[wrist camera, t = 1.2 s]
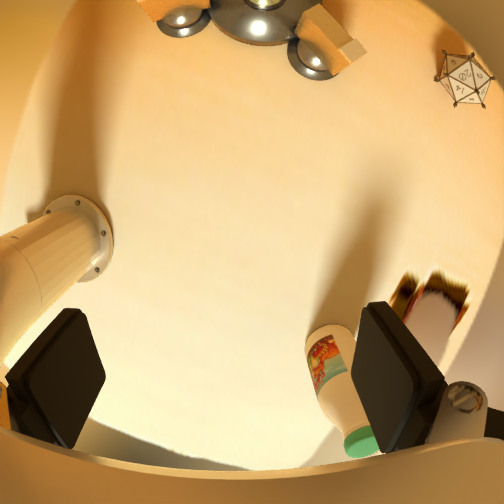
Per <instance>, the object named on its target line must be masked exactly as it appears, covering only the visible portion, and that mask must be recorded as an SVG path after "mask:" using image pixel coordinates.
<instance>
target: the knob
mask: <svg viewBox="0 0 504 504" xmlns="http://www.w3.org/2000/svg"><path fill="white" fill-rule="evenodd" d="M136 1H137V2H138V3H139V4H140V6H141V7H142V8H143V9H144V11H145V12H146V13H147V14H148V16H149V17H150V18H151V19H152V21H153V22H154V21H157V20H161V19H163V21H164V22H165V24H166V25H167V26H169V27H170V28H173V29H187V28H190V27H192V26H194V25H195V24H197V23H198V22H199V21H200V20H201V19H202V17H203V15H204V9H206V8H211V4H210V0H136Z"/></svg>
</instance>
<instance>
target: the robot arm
mask: <svg viewBox="0 0 504 504" xmlns="http://www.w3.org/2000/svg"><path fill="white" fill-rule="evenodd" d="M105 231H106V233H105ZM112 251H113V237H112V233H111V228H110V226H109V223H108V221H107V219H106V217H105V216H104V214H103V212H102V211H101V210H100V209H99V208H98V206H97V205H95V204H94V203H93V202H92V201H91V200H89V199H87V198H85V197H83V196H79V195H65V196H61V197H59V198H57V199H55V200H53V201H52V202H51V203H50V204H49V205H48V206H47V207H46V209H45V210H44V212H43V214H42V217H40V218H38V219H36V220H34V221H32V222H30V223H27V224H25V225H23V226H21V227H19V228H17V229H15V230H13V231H11V232H9V233H7V234H5V235H3V236H1V237H0V367H1V365H2V363H3V362H4V360H5V358H6V357H7V355H8V353H9V352H10V350H11V349H12V348H13V346H14V345H15V344H16V343H17V341H18V340H19V339H20V338H21V337H22V335H23V334H24V333H25V332H26V331H27V330H28V329H29V328H30V327H31V326H32V325H33V324H34V323H35V322H36V321H37V320H38V319H39V318H40V317H41V316H42V315H43V314H44V313H45V312H46V311H47V310H48V309H49V308H50V307H51V306H52V305H53V304H54V303H55V302H56V301H57V300H58V299H59V298H60V297H61V296H62V295H63V294H64V293H65V292H66V291H67V290H68V289H69V288H70V287H71V286H72V285H73V284H75V283H76V282H88V281H92V280H93V279H95V278H97V277H98V276H99V275H100V274H102V273H103V271H104V270H105V269H106V268H107V266H108V264H109V262H110V260H111V256H112ZM5 378H6V380H7V382H8V384H9V385H8V387H7V388H6V386H5V385H4V384H3V383H2V382H0V504H504V412H503V411H500V410H496V409H492V408H490V407H488V400H487V397H486V394H485V393H484V391H483V390H482V389H481V388H480V387H478V386H477V385H475V384H473V383H470V382H464V381H459V382H454V383H451V384H450V385H448V384H447V383H446V381H445V380H444V379H445V377H444V376H443V375H442V373H441V372H440V370H439V369H438V368H437V366H436V365H435V364H434V362H433V361H432V360H431V358H430V357H429V356H428V355H427V353H426V352H425V350H424V349H423V348H422V346H421V345H420V344H419V342H418V341H417V340H416V339H415V337H414V336H413V335H412V333H411V332H410V331H409V330H408V328H407V327H406V326H405V324H404V323H403V322H402V321H401V319H400V318H399V317H398V316H397V314H396V313H395V312H394V311H393V310H392V308H391V307H390V306H389V305H388V303H387V302H385V301H381V302H370V303H368V305H367V307H364V308H363V309H362V313H361V319H360V325H359V331H358V337H357V342H356V347H355V352H354V357H353V362H352V367H351V378H352V381H353V384H354V386H355V389H356V391H357V393H358V396H359V398H360V401H361V403H362V406H363V408H364V411H365V413H366V416H367V418H368V421H369V423H370V426H371V429H372V431H373V434H374V436H375V439H376V442H377V444H378V447H379V449H380V451H381V452H382V453H386V454H382V455H378V456H373V457H368V458H363V459H358V460H352V461H346V462H340V463H334V464H328V465H320V466H313V467H304V468H294V469H282V470H265V471H205V470H188V469H175V468H166V467H157V466H150V465H143V464H136V463H130V462H124V461H119V460H114V459H109V458H103V457H99V456H95V455H90V454H86V453H82V452H78V451H74V450H71V449H72V448H73V447H74V446H75V443H76V441H77V439H78V436H79V434H80V432H81V430H82V428H83V426H84V424H85V421H86V419H87V417H88V415H89V413H90V411H91V409H92V407H93V405H94V402H95V400H96V398H97V396H98V394H99V392H100V390H101V388H102V386H103V384H104V382H105V378H106V375H105V370H104V368H103V365H102V362H101V360H100V357H99V354H98V351H97V348H96V345H95V343H94V340H93V336H92V333H91V330H90V327H89V324H88V321H87V317H86V315H85V314H84V313H82V311H81V310H80V309H76V308H65V309H63V310H62V311H61V312H60V313H59V314H58V316H57V317H56V318H55V319H54V320H53V321H52V322H51V323H50V324H49V325H48V326H47V328H46V329H45V330H44V331H43V332H42V333H41V334H40V335H39V336H38V338H37V339H36V340H35V341H34V342H33V343H32V344H31V346H30V347H29V348H28V349H27V350H26V351H25V353H24V354H23V355H22V356H21V357H20V359H19V360H18V361H17V362H16V363H15V365H14V366H13V367H12V368H11V370H10V371H9V372H8V373H7V375H6V376H5Z"/></svg>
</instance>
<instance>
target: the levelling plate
mask: <svg viewBox="0 0 504 504" xmlns="http://www.w3.org/2000/svg"><path fill="white" fill-rule="evenodd" d="M210 4H211V8H206V9H204V15H203V17H202V19H201V20H200V21H199V22H198V23H197V24H195V25H194V26H192V27H190V28H187V29H173V28H170V27H169V26H167V25H166V24H165V22H164V21H163V19H161V20H157V21H156V22H157V25H158V27H159V29H160V30H161V31H162V32H163V33H164V34H166V35H168V36H171V37H176V38H182V37H188V36H192V35H194V34H196V33H198V32H200V31H201V30H203V29H204V28H205V27H206V26H207V25H208V23H209V22H210V20H211V19H212V21H213V22H214V24H215V25H216V26H217V27H218V28H219V30H221V31H222V32H223V33H224V34H226V35H227V36H229V37H231V38H233V39H235V40H237V41H240V42H242V43H246V44H250V45H256V46H275V45H282V44H285V43H289V44H288V48H287V55H288V59H289V62H290V64H291V65H292V67H293V68H294V69H295V70H296V71H297V72H298V73H299V74H301V75H302V76H304V77H306V78H308V79H312V80H318V81H322V80H328V79H331V78H333V77H335V76H336V75H337V74H338V73H337V74H336V75H334V76H333V75H332V74H331V73H330V72H329V70H328V71H325V72H315V71H311V70H309V69H307V68H306V67H304V66H303V65H302V64H301V63H300V61H299V60H298V58H297V55H296V47H297V44H298V43H299V41H300V38H299V37H298V36H297V35H296V34H295V33H294V31H295V29H296V27H297V24H298V22H299V20H300V18H301V16H302V14H303V12H304V11H306V10H308V9H310V8H312V7H313V6H315V5H317V4H320V5H321V6H322V0H210Z"/></svg>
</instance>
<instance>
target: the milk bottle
mask: <svg viewBox="0 0 504 504" xmlns="http://www.w3.org/2000/svg"><path fill="white" fill-rule="evenodd" d="M355 347H356V341H355V339H354V337H353V335H352V334H351V332H350V331H349V330H348V329H347V328H345V327H343V326H341V325H332V324H331V325H326V326H323V327H321V328H319V329H317V330H316V331H314V332H313V333H312V334H311V335H310V336H309V338H308V340H307V342H306V344H305V355H306V359H307V363H308V367H309V370H310V374H311V378H312V381H313V385H314V389H315V392H316V396H317V399H318V402H319V405H320V407H321V409H322V411H323V413H324V415H325V416H326V417H327V418H328V419H329V420H330V421H331V422H332V423H333V424H334V425H335V426H336V427H337V428H338V429H339V430H340V431H341V433H342V434H343V439H342V441H343V443H344V448H345V451H346V453H347V455H348V456H350V457H354V458H359V457H365V456H368V455H371V454H373V453H375V452H376V451H378V450H379V447H378V444H377V442H376V439H375V436H374V434H373V431H372V429H371V426H370V423H369V421H368V418H367V416H366V413H365V411H364V408H363V406H362V403H361V401H360V398H359V396H358V393H357V391H356V389H355V386H354V384H353V381H352V378H351V367H352V362H353V357H354V352H355Z"/></svg>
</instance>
